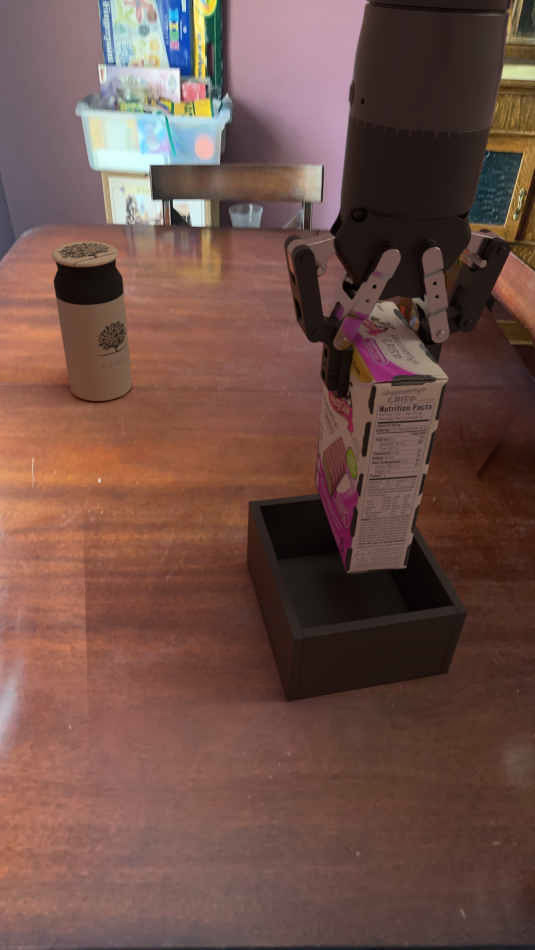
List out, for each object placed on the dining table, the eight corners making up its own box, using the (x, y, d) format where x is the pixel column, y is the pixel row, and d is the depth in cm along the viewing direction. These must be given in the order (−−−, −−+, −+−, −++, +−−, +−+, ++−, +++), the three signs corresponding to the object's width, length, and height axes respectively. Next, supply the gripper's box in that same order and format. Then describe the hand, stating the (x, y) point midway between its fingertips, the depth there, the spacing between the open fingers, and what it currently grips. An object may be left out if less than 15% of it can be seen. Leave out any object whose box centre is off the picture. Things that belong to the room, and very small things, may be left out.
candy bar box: (309, 483, 58) (327, 300, 48) (366, 479, 58) (395, 298, 48) (342, 578, 49) (372, 379, 39) (408, 572, 50) (454, 374, 40)
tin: (407, 345, 103) (417, 292, 98) (388, 340, 104) (397, 287, 99) (443, 313, 113) (454, 263, 108) (426, 308, 114) (436, 259, 109)
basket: (380, 543, 67) (391, 484, 63) (447, 672, 55) (468, 611, 51) (246, 561, 64) (248, 501, 60) (287, 701, 52) (293, 639, 48)
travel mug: (61, 382, 90) (38, 246, 79) (116, 367, 93) (102, 236, 82) (85, 409, 85) (65, 268, 74) (142, 392, 88) (131, 256, 77)
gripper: (309, 125, 31) (288, 429, 42) (580, 124, 34) (497, 409, 45) (272, 97, 37) (261, 371, 48) (506, 99, 40) (448, 356, 50)
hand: (376, 388), depth 46 cm, fingers closed on candy bar box, 5 cm apart
